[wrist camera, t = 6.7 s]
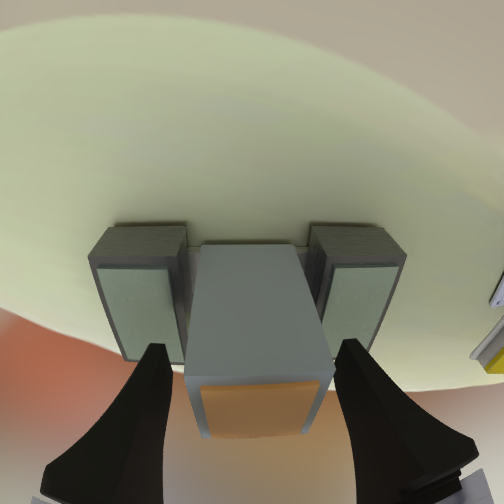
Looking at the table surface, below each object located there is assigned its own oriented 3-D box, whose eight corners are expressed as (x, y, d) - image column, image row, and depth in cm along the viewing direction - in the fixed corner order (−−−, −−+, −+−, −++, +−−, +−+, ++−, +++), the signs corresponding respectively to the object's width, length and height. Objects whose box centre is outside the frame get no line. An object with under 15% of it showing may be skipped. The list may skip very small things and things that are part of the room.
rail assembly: (385, 223, 15) (417, 257, 12) (357, 317, 18) (375, 356, 15) (104, 222, 14) (76, 258, 11) (129, 321, 17) (116, 362, 14)
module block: (293, 244, 14) (337, 374, 8) (284, 317, 17) (308, 437, 10) (201, 244, 14) (182, 381, 8) (207, 319, 17) (201, 442, 10)
